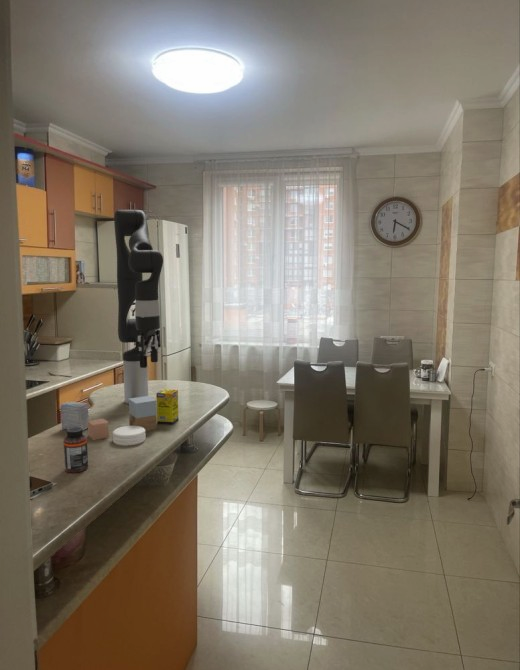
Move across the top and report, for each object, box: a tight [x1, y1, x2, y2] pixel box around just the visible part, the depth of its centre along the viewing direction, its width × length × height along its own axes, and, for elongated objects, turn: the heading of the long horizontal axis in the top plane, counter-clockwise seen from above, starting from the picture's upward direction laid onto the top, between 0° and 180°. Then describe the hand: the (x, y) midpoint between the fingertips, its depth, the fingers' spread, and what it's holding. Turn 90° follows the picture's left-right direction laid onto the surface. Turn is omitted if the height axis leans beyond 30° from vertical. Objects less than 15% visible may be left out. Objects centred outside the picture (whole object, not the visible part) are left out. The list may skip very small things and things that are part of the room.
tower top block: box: [128, 395, 157, 418], centre depth 177 cm, size 7×7×5 cm
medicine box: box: [60, 401, 90, 432], centre depth 177 cm, size 8×4×9 cm, turn 71°
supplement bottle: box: [63, 427, 89, 474], centre depth 143 cm, size 6×6×11 cm
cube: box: [87, 418, 110, 441], centre depth 170 cm, size 5×5×5 cm
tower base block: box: [128, 412, 158, 432], centre depth 178 cm, size 7×7×5 cm
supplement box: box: [155, 388, 179, 425], centre depth 184 cm, size 6×6×11 cm
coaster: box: [112, 425, 147, 447], centre depth 166 cm, size 10×10×4 cm
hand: (149, 364), depth 169 cm, fingers open, 8 cm apart
